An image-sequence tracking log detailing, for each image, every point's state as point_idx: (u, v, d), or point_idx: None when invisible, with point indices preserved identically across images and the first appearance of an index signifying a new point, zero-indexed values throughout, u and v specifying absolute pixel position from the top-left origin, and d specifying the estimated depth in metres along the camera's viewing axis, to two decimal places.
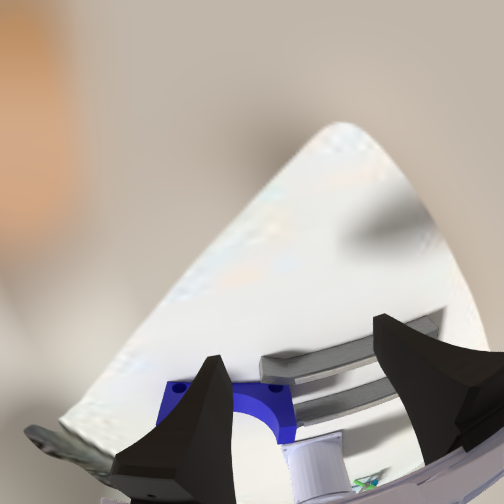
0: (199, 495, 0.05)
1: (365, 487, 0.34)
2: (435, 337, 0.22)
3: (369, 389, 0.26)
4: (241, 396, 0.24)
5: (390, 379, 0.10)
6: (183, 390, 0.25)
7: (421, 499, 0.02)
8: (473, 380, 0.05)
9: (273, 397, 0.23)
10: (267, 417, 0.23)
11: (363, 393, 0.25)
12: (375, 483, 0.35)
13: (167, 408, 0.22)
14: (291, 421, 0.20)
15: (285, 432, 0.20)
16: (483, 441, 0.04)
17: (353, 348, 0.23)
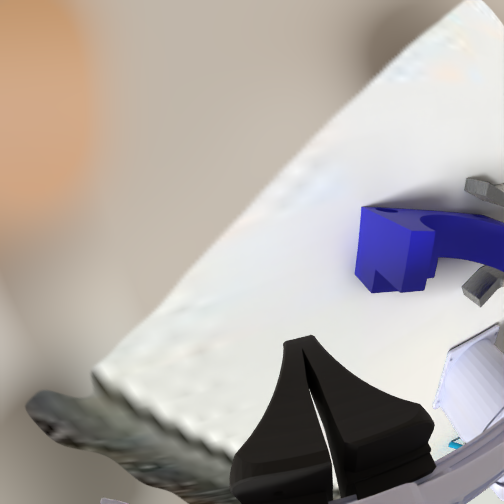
0: (331, 479, 0.05)
1: None
2: None
3: None
4: (459, 221, 0.15)
5: (315, 403, 0.10)
6: None
7: (421, 499, 0.02)
8: (354, 435, 0.05)
9: (489, 220, 0.15)
10: (490, 247, 0.14)
11: None
12: None
13: (400, 220, 0.13)
14: None
15: None
16: None
17: None
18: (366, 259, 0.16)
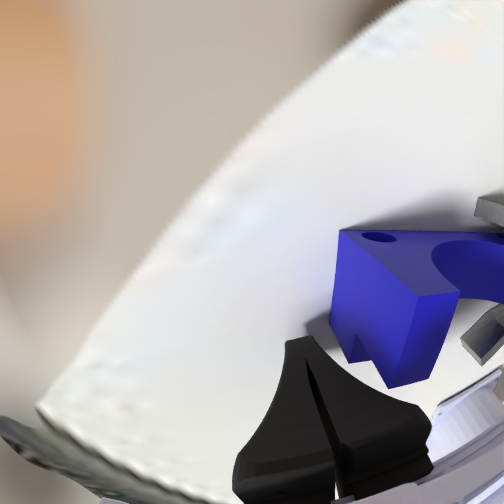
0: (333, 478, 0.05)
1: None
2: None
3: None
4: (482, 249, 0.10)
5: None
6: None
7: (421, 499, 0.02)
8: (351, 435, 0.05)
9: None
10: None
11: None
12: None
13: (400, 263, 0.08)
14: None
15: None
16: None
17: None
18: (344, 312, 0.11)
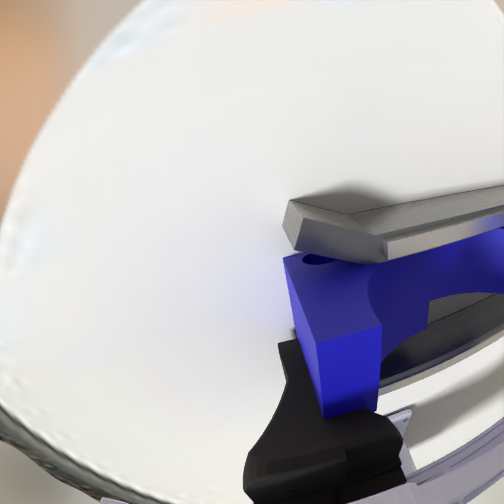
0: (344, 475, 0.05)
1: None
2: None
3: (478, 313, 0.12)
4: None
5: None
6: None
7: (421, 499, 0.02)
8: (315, 446, 0.05)
9: None
10: None
11: (471, 320, 0.12)
12: None
13: (323, 293, 0.07)
14: None
15: None
16: None
17: (473, 197, 0.09)
18: (299, 339, 0.10)
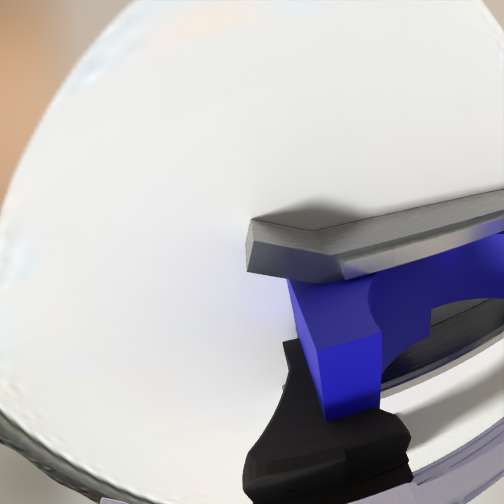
0: (343, 475, 0.05)
1: None
2: None
3: (461, 325, 0.12)
4: None
5: None
6: None
7: (421, 499, 0.02)
8: (324, 443, 0.05)
9: None
10: None
11: (453, 332, 0.12)
12: None
13: (324, 302, 0.08)
14: None
15: None
16: None
17: (450, 208, 0.09)
18: None
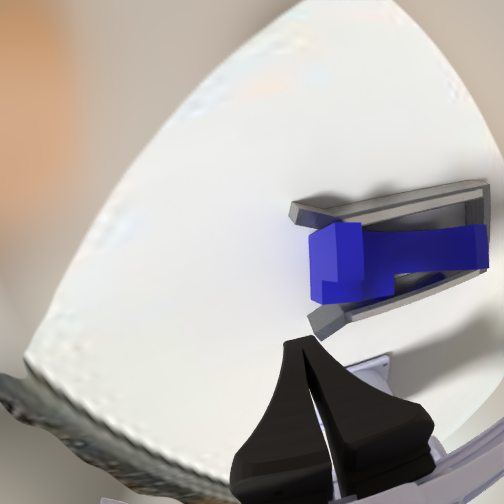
0: (331, 479, 0.05)
1: None
2: (488, 196, 0.16)
3: (425, 274, 0.20)
4: (408, 236, 0.18)
5: (315, 403, 0.10)
6: None
7: (421, 499, 0.02)
8: (354, 434, 0.05)
9: None
10: (446, 251, 0.16)
11: (419, 278, 0.20)
12: None
13: None
14: None
15: (480, 238, 0.14)
16: None
17: (404, 195, 0.18)
18: (316, 277, 0.18)
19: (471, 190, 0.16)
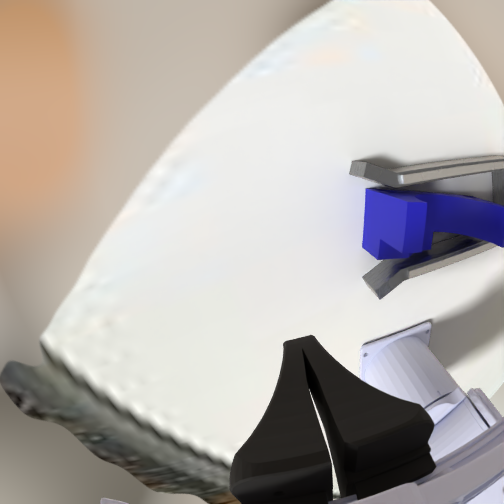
0: (331, 479, 0.05)
1: None
2: None
3: (463, 239, 0.20)
4: (449, 200, 0.18)
5: (315, 403, 0.10)
6: None
7: (421, 499, 0.02)
8: (353, 434, 0.05)
9: (477, 199, 0.17)
10: (479, 222, 0.17)
11: (459, 242, 0.20)
12: None
13: (398, 196, 0.16)
14: None
15: None
16: None
17: (446, 162, 0.17)
18: (371, 232, 0.19)
19: (499, 161, 0.16)
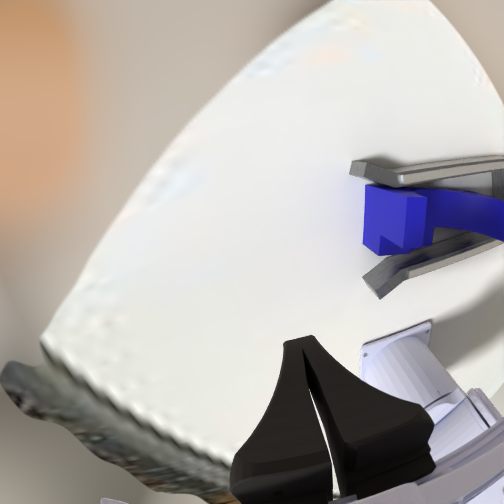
0: (331, 479, 0.05)
1: None
2: None
3: (463, 239, 0.20)
4: (450, 195, 0.18)
5: (315, 403, 0.10)
6: None
7: (421, 499, 0.02)
8: (353, 434, 0.05)
9: (477, 194, 0.17)
10: (480, 216, 0.17)
11: (459, 242, 0.20)
12: None
13: (398, 191, 0.16)
14: None
15: None
16: None
17: (446, 162, 0.17)
18: (372, 228, 0.19)
19: (499, 161, 0.16)
